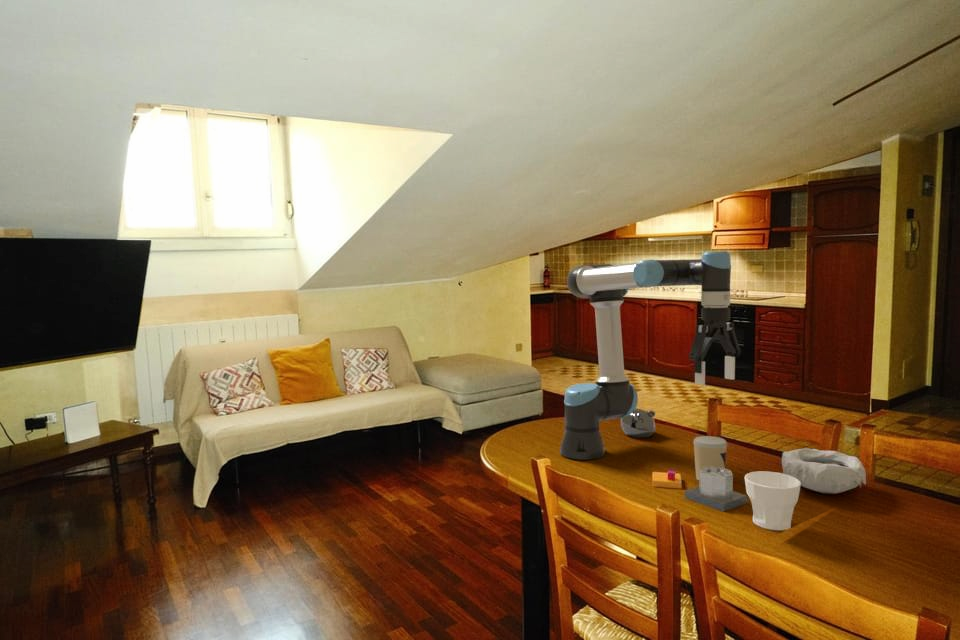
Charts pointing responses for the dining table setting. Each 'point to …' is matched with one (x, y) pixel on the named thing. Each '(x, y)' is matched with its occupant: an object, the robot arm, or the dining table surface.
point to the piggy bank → (639, 423)
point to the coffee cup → (709, 452)
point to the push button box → (667, 479)
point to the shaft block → (716, 499)
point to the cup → (772, 498)
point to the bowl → (824, 470)
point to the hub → (715, 482)
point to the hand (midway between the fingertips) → (715, 381)
